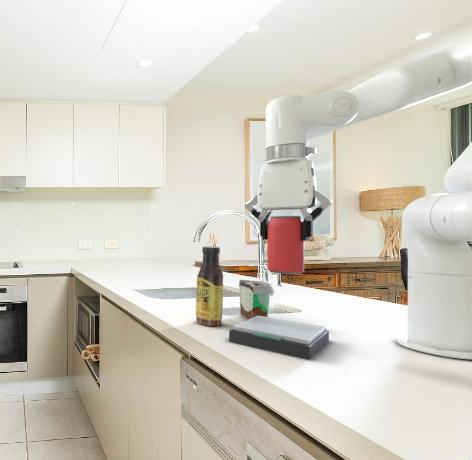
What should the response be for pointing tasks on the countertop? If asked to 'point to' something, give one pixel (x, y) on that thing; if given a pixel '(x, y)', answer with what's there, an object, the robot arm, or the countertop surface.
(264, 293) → the food container
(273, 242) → the beer can
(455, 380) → the countertop surface
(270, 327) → the scale
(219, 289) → the sauce bottle
